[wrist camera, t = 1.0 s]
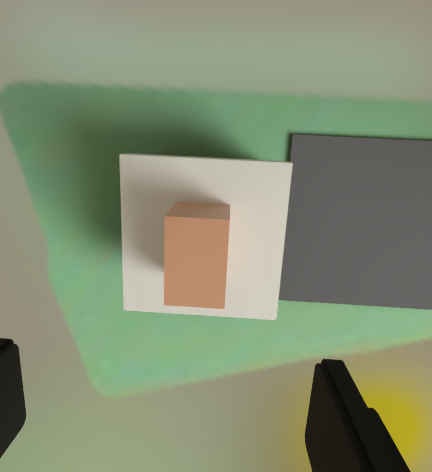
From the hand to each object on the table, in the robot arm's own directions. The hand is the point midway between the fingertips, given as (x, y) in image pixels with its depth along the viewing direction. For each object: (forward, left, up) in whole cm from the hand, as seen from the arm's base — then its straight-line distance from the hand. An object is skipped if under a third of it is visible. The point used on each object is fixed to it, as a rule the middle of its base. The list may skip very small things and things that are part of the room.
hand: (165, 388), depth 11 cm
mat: (-11, +12, -25) cm, 30 cm away
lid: (0, 0, -19) cm, 19 cm away
